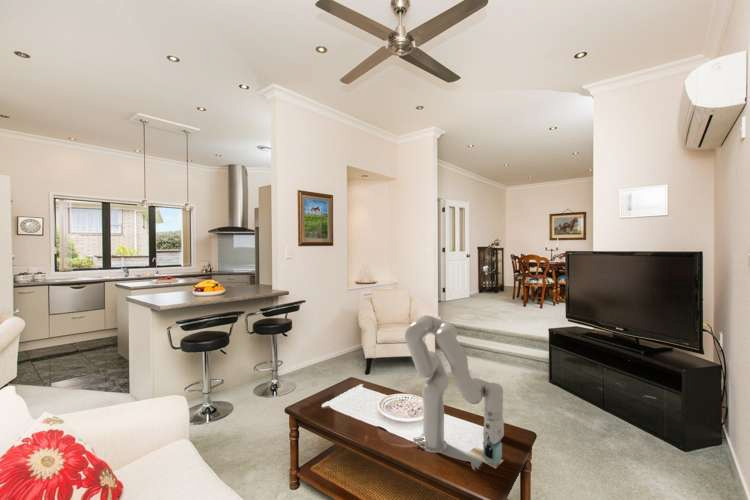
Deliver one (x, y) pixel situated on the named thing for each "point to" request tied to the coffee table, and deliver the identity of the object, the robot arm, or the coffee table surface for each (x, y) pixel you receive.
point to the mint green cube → (495, 452)
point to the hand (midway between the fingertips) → (492, 453)
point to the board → (481, 456)
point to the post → (492, 462)
